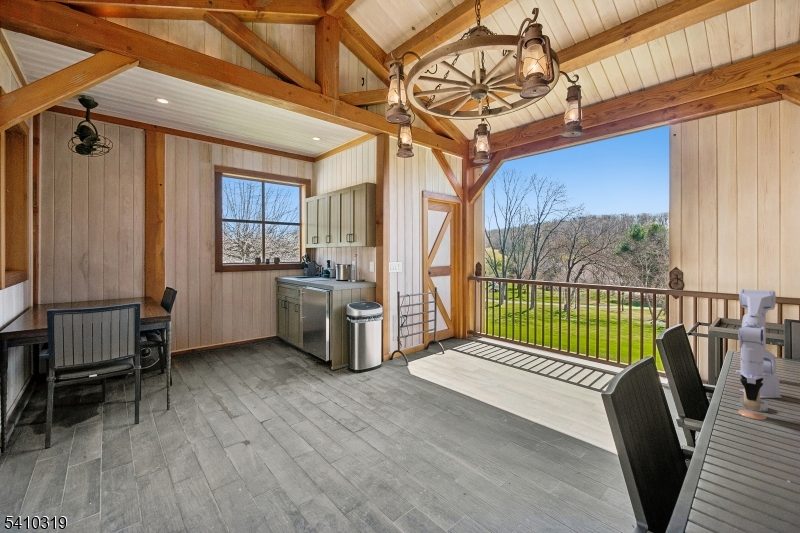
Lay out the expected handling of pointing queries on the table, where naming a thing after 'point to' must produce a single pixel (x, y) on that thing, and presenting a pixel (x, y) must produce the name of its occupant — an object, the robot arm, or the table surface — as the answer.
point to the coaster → (752, 414)
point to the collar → (762, 405)
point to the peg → (752, 402)
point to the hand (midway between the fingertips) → (751, 398)
